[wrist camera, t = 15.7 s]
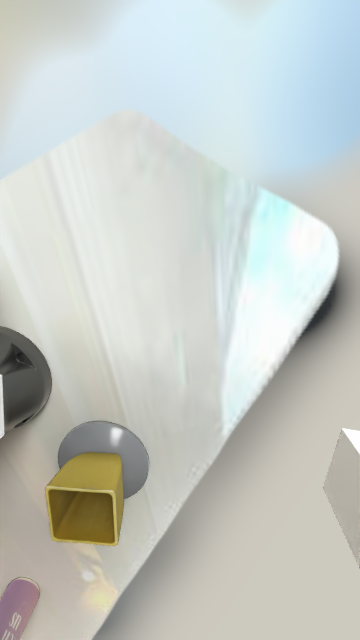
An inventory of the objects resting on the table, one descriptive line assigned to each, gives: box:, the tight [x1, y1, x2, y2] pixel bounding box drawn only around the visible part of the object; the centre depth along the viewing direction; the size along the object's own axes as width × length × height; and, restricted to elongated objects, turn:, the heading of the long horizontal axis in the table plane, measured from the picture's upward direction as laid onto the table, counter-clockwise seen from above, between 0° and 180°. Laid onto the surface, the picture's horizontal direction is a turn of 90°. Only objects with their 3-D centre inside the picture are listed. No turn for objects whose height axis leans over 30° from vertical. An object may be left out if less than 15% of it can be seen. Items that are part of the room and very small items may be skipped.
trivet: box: [58, 421, 149, 499], centre depth 47 cm, size 14×14×1 cm
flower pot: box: [45, 452, 124, 546], centre depth 43 cm, size 9×9×9 cm
